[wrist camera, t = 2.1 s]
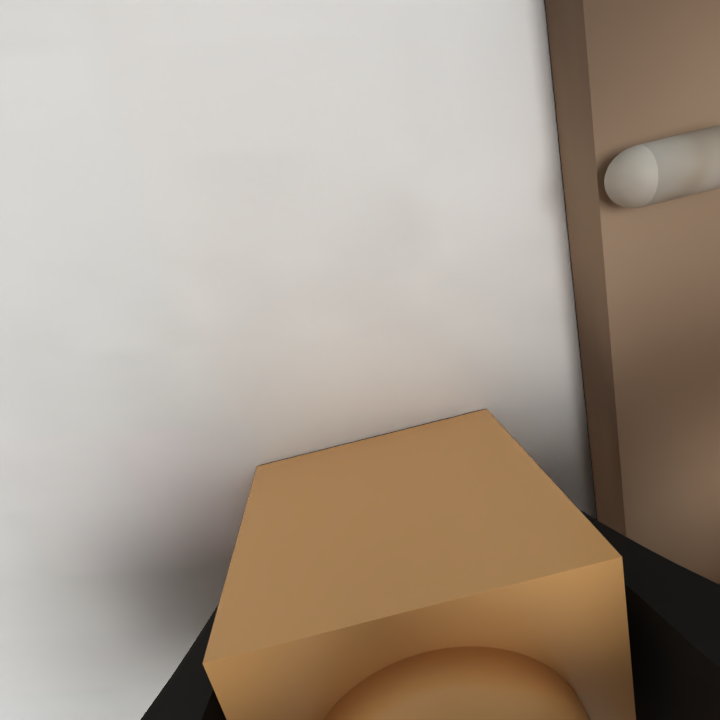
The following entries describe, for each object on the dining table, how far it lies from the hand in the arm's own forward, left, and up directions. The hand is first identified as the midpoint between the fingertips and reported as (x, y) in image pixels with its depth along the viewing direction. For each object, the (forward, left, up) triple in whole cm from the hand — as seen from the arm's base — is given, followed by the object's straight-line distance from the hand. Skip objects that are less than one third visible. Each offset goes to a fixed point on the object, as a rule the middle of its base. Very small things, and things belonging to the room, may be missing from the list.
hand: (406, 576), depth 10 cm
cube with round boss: (0, 0, -1) cm, 1 cm away
